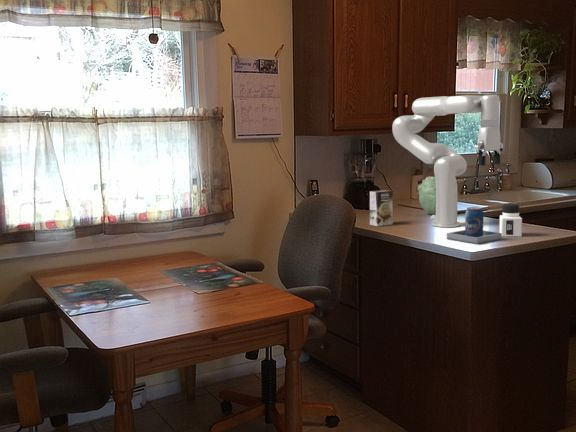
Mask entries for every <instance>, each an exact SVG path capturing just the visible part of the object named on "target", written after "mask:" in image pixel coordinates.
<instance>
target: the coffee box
mask: <svg viewBox="0 0 576 432" xmlns="http://www.w3.org/2000/svg"><path fill="white" fill-rule="evenodd" d="M393 192H394V191H393V190H386V189H384V190H383V189H382V190H371V191H369V226H375V227H382V226H383V225H384V226H391V225H393V222H394V221H393V217H394V216H393V206H394V205H393V204H394V203H393V197H394V196H393ZM384 226H383V227H384Z"/></svg>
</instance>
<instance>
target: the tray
mask: <svg viewBox="0 0 576 432" xmlns="http://www.w3.org/2000/svg"><path fill="white" fill-rule="evenodd" d="M502 237H503V236H502V233H499V232H496V231H490V230H484V229H483V236H481V237H471V236H466V235H465V229H463V230H456V231H452V232H447V233H446V240H448V241H455V242H460V243H467V244H471V245H472V244H473V245H481V244H485V243H490V242H496V241H500V240H502Z"/></svg>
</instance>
